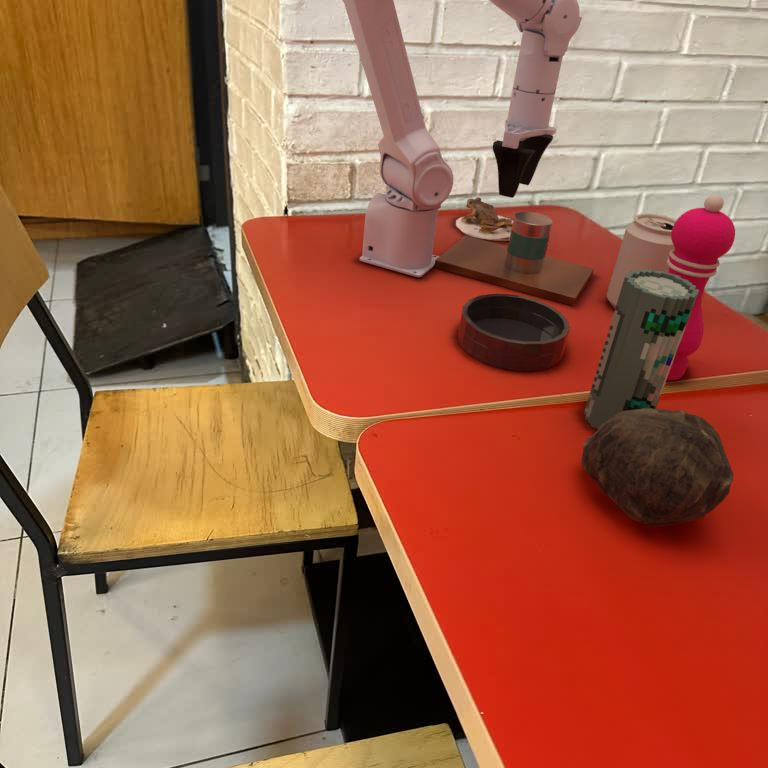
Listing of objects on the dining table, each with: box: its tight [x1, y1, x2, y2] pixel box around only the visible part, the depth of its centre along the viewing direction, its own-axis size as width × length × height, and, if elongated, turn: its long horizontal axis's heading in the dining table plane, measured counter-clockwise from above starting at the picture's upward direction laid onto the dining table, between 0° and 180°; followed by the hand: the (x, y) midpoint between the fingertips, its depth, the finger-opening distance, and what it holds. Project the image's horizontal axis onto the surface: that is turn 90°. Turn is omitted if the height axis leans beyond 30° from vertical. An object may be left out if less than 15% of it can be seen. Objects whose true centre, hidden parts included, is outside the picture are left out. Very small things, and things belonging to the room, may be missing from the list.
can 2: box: [583, 269, 699, 430], centre depth 65 cm, size 6×6×15 cm
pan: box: [457, 293, 571, 372], centre depth 80 cm, size 12×12×4 cm
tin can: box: [505, 211, 554, 273], centre depth 96 cm, size 5×5×7 cm
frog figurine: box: [455, 196, 514, 242], centre depth 113 cm, size 12×12×4 cm
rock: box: [581, 408, 734, 527], centre depth 57 cm, size 10×11×10 cm
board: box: [433, 235, 595, 307], centre depth 99 cm, size 20×12×1 cm, turn 64°
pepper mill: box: [666, 194, 736, 381], centre depth 74 cm, size 7×7×20 cm
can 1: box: [606, 213, 677, 309], centre depth 89 cm, size 8×8×12 cm
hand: (514, 189), depth 101 cm, fingers open, 7 cm apart
